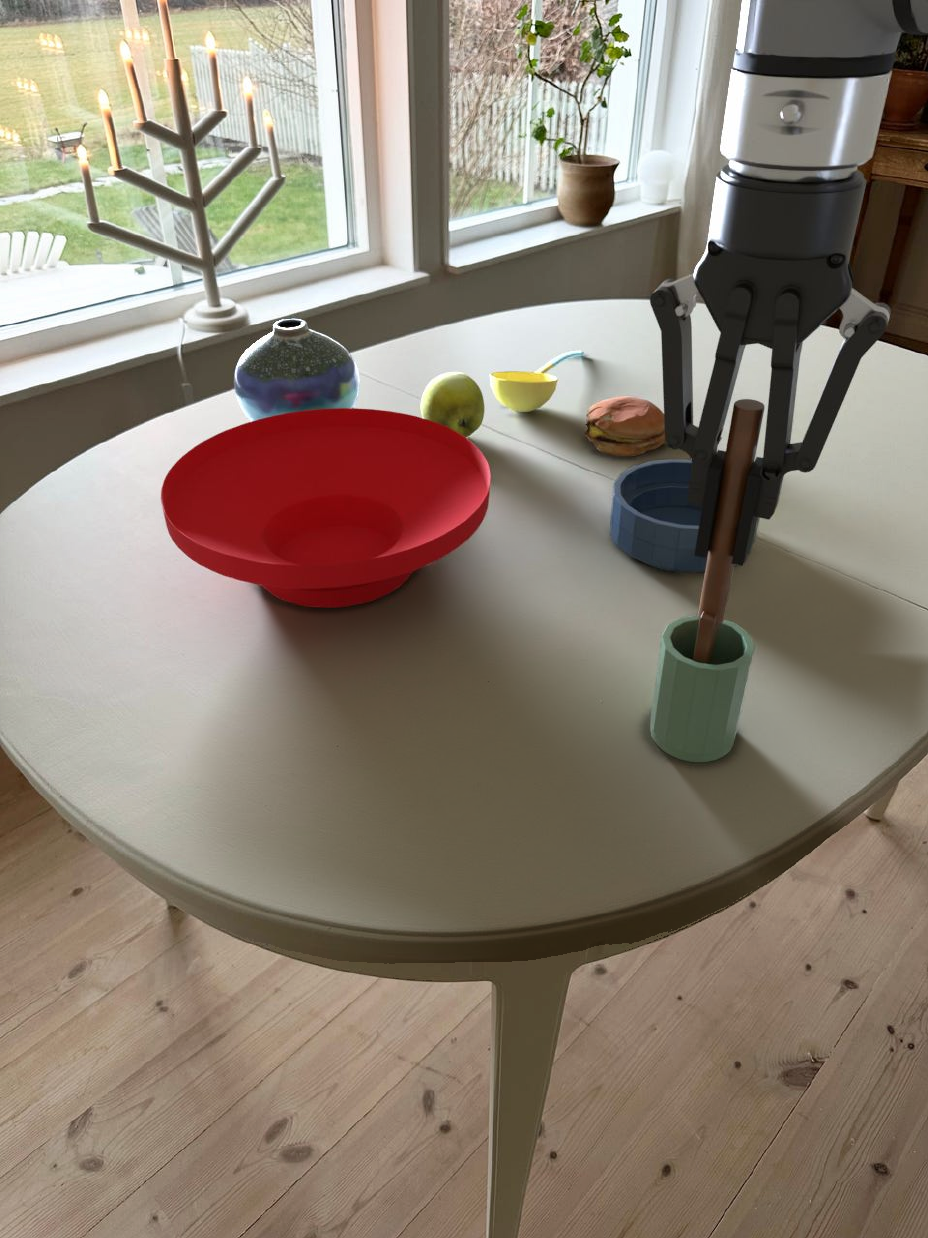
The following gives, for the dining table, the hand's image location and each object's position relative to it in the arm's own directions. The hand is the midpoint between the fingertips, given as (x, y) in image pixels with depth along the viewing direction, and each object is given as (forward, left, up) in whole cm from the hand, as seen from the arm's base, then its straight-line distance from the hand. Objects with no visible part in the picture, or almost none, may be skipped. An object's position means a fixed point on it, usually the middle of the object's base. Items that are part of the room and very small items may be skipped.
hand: (722, 550), depth 62 cm
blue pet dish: (+8, -28, -17) cm, 33 cm away
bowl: (+38, -10, -17) cm, 43 cm away
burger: (+20, -48, -17) cm, 55 cm away
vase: (+59, -36, -17) cm, 71 cm away
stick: (0, 0, -10) cm, 10 cm away
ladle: (+35, -61, -17) cm, 72 cm away
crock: (0, 0, -17) cm, 17 cm away
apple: (+40, -41, -17) cm, 60 cm away
